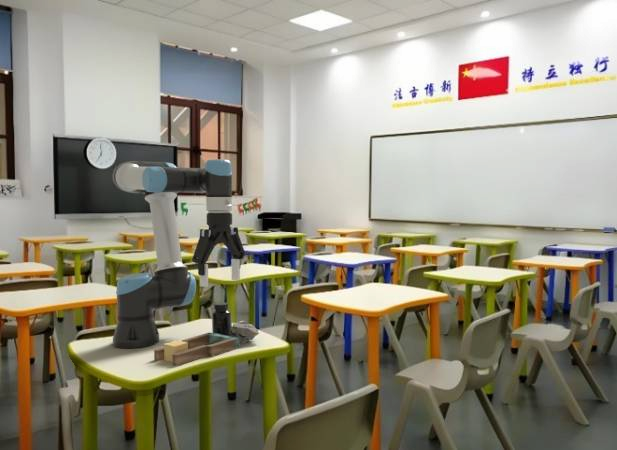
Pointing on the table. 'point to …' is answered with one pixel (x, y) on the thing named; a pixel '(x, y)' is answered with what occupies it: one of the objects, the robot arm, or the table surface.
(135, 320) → the robot arm
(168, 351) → the block
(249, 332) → the mineral specimen
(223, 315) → the supplement bottle
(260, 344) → the table surface
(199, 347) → the chute
